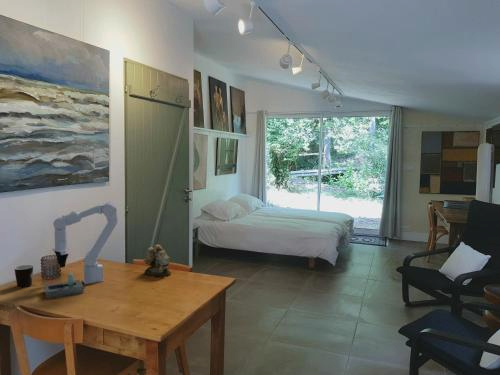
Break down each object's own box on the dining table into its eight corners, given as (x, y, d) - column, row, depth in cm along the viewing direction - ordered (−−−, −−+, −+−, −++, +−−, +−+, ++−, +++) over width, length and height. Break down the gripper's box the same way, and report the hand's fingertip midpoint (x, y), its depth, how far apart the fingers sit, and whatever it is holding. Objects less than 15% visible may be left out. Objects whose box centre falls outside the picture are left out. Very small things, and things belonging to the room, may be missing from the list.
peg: (76, 288, 199) (75, 272, 199) (77, 291, 195) (76, 274, 194) (65, 290, 197) (64, 273, 196) (66, 293, 193) (65, 276, 192)
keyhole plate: (79, 286, 204) (79, 279, 203) (83, 292, 194) (83, 286, 193) (44, 291, 195) (44, 284, 195) (47, 299, 185) (47, 292, 185)
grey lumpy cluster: (137, 274, 225) (137, 245, 224) (151, 269, 235) (150, 241, 234) (163, 278, 217) (163, 248, 216) (175, 273, 228) (175, 244, 227)
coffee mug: (25, 289, 198) (24, 270, 197) (10, 288, 200) (10, 269, 199) (41, 282, 209) (41, 264, 209) (28, 281, 211) (27, 263, 210)
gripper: (50, 238, 209) (51, 263, 210) (54, 243, 197) (54, 269, 198) (65, 237, 213) (65, 261, 214) (69, 242, 201) (69, 267, 202)
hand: (61, 265), depth 207 cm, fingers open, 7 cm apart
